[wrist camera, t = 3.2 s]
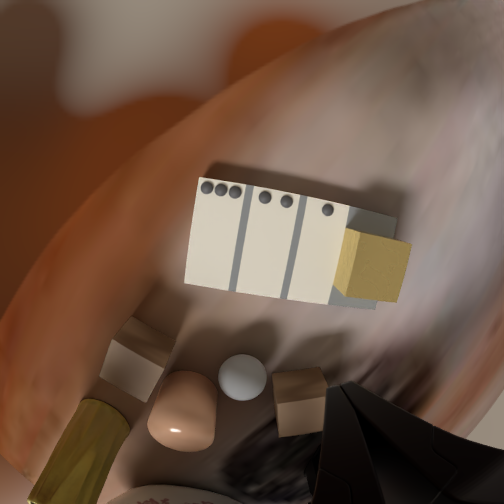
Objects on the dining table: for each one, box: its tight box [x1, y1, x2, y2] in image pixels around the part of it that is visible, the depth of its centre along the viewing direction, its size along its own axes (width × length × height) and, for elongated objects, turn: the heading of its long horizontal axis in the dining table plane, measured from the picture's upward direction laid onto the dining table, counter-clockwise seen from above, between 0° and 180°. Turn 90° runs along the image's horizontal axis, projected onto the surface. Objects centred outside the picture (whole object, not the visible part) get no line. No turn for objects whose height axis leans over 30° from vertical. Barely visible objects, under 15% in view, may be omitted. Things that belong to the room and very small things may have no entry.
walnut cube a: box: [272, 367, 328, 438], centre depth 20 cm, size 4×4×4 cm
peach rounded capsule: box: [147, 371, 218, 452], centre depth 19 cm, size 5×5×5 cm
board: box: [184, 177, 397, 310], centre depth 19 cm, size 14×7×1 cm, turn 80°
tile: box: [333, 228, 412, 303], centre depth 17 cm, size 4×4×2 cm
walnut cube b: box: [99, 316, 176, 403], centre depth 19 cm, size 4×4×4 cm
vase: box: [27, 399, 130, 504], centre depth 15 cm, size 6×6×14 cm
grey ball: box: [218, 354, 267, 401], centre depth 19 cm, size 4×4×4 cm
